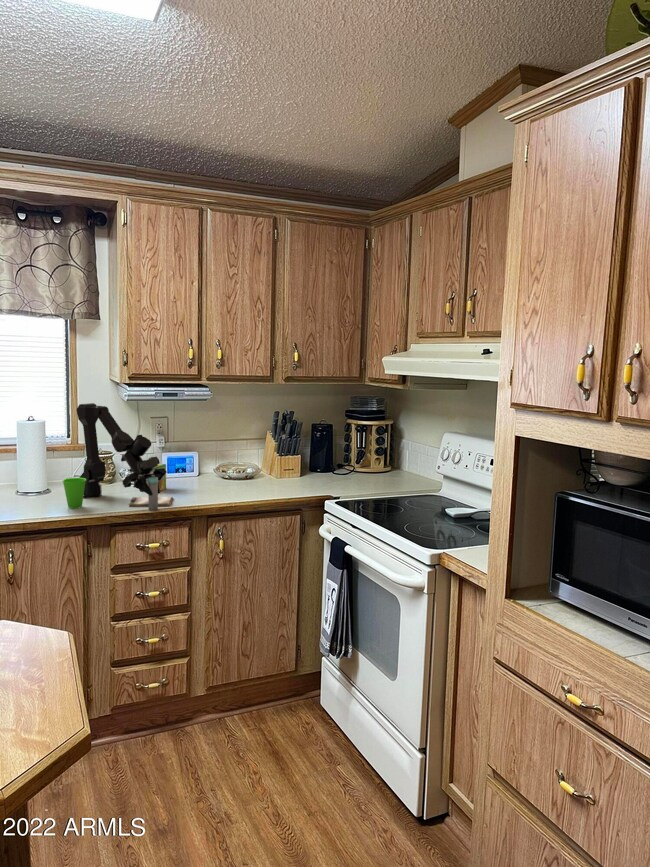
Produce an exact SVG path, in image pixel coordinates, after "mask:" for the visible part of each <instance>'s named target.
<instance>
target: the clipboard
mask: <svg viewBox="0 0 650 867" xmlns="http://www.w3.org/2000/svg"><path fill="white" fill-rule="evenodd" d="M172 502H173V496H158V507H171V505H172ZM134 506H135V507H142V508H143V507H144V506H145V507H146V508H149V498H148V496H141V497H140V496H139V497H138V496H137V497H135V496H133V497H131V499H130V503H129V506H128V507H129V508H131V507H133V508H135V507H134Z"/></svg>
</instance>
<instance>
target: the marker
mask: <svg viewBox="0 0 650 867" xmlns="http://www.w3.org/2000/svg"><path fill="white" fill-rule="evenodd" d="M148 486H149V488H150V490H151V491H152V494H153V495H152V496H150V495H149V494H147V495H148V496H147V497H148V498H149V506H148V511H150V512H156V511H158V510H159V506H158V497H159V494H158V477H148Z"/></svg>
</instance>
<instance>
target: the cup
mask: <svg viewBox="0 0 650 867" xmlns="http://www.w3.org/2000/svg"><path fill="white" fill-rule="evenodd" d="M61 482H62V483H63V488H64V492H65V497H66V503H67V507H68V508H69V509H80V508H82V507H81V506H83V501H84V498H83V496H84V489H85V482H86V479H85V478H79V477H68V478H64V479H62V481H61ZM79 507H80V508H79Z"/></svg>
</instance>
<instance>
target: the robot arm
mask: <svg viewBox="0 0 650 867" xmlns="http://www.w3.org/2000/svg"><path fill="white" fill-rule="evenodd" d="M76 414H77V420H78V421H79V422H80V423H81V424H82V428H83V429H82V430H83V435H84V436H83V437H84V444H85V452H86V453H85V454H86V456H85V457H86V460H85V463H84V465H83V472H82V474H81V475H80V476H79V477H78V478H85V479H86V482H85V489H84V496H83V499H86V498H87V499H89V498H90V499H91V498H92V497H99V496H100V497H101V495H102V491H103V490H102V487H103V486H102V484H101V482H104V480H105V476H106V471H107V469H106V461H102V459H101V458H100V453H99V452H100V451H99V445H98V444H99V442H98V434H97V426H96V425H97V422H98V419H99V421H100V422H101V424H102V425H103V427H104V428H105V430H106V432H107V433H108V434H109V436H110V437H111V445H112V447H113V448H114V449H113V450H115V452H116V453H124V454H122V455H121V459H120V461H121V462H126V464H127V465H128V466H129V468H130V469H129V472H130V473H127V475H126V476H125V478H124V479H123V480H122V485H123V487H124V488H130V487H131V486H132V483H133V486H132V487H133V488H135V489H138V490H139V491H140V490H142V491H141V492H143V493H145V494H147V495H148V494H149V495H150V496H152V495H153V494H152V491H151V490H150V488H149V486H148V484H147V483H146V479H148V477H158V481H159V480H161V479H162V478H163V476H164V475H165V474H166V475H167V469H166V470H165V468H157V469H155V471H154V472H153V473H150V472H151V471H152V470H153V469H152V468H153V467H155V466H158V464H161V463H160V459H159V458H158V456H152V457H153V458H151V459H149V458H148V459H143V458H142V456H145V454H146V453H147V452H148V450H149V449H150V448H151V446H152V441H151V440H150V439H149V438H147V437H145V436H143V434H138V435H136V437H135V439H134V438H132V437H131V435H130V434H129V433H127V432H125V431H124V430H122V428H121V427H120V425H119V424H118V422H117V421H116V420H115V418H114V416H113V415H112V414H111V413H110V410H109V407H107V406H106V405H104V406H103V405H97V404H96V403H94V402H92V403H89V402H88V403H80V404H79V405H77V407H76ZM160 493H161V491H160V488H159V483H158V495H160ZM100 497H99V498H100Z"/></svg>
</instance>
